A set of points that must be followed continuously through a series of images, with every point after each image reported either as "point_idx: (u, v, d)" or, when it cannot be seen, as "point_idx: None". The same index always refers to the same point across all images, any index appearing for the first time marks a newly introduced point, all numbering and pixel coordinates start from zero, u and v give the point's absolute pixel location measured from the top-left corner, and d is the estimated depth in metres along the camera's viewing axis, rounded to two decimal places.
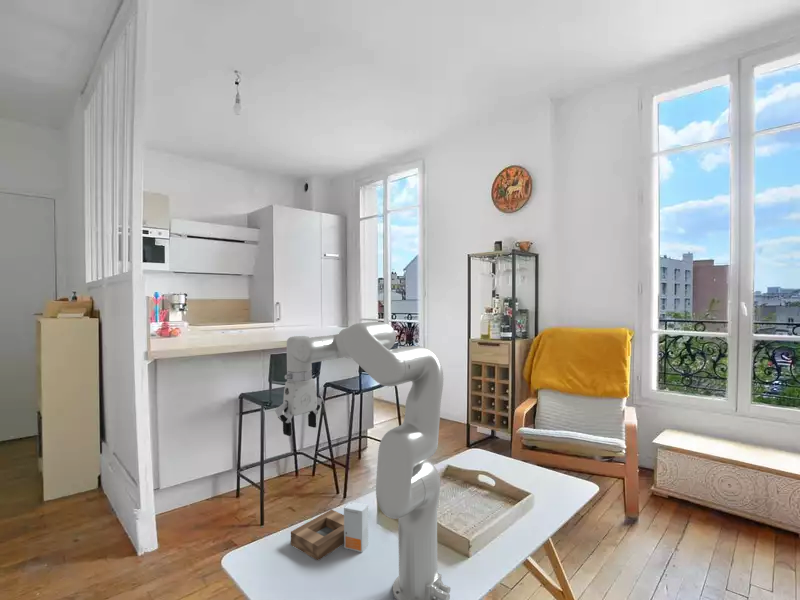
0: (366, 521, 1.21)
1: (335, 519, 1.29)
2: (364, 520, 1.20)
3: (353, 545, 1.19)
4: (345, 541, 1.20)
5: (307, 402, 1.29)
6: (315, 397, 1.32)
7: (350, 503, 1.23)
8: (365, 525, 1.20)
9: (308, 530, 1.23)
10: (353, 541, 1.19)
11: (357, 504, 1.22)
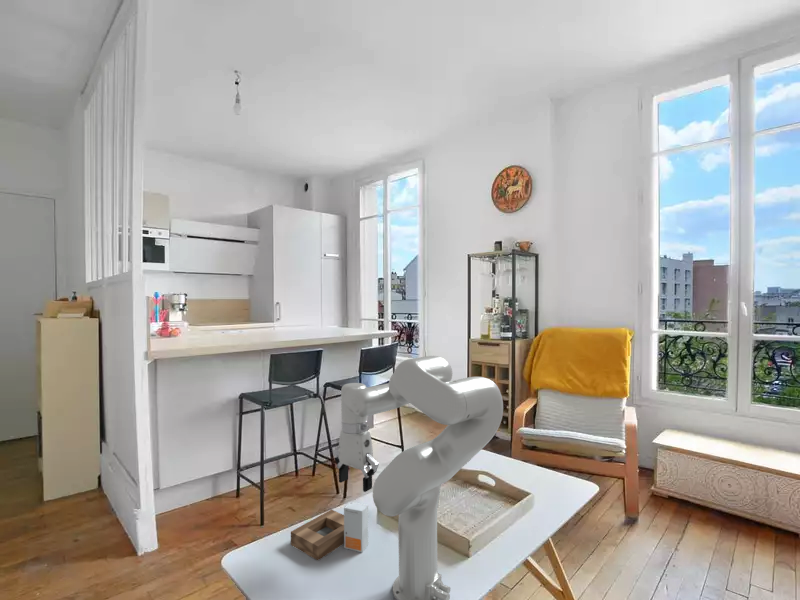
0: (366, 521, 1.21)
1: (335, 519, 1.29)
2: (364, 520, 1.20)
3: (353, 545, 1.19)
4: (345, 541, 1.20)
5: None
6: None
7: (350, 503, 1.23)
8: (365, 525, 1.20)
9: (308, 530, 1.23)
10: (353, 541, 1.19)
11: (357, 504, 1.22)
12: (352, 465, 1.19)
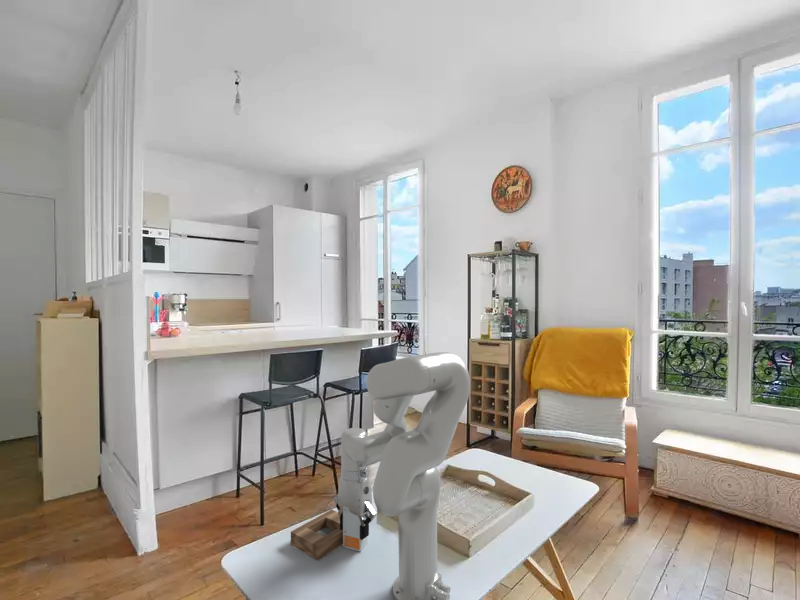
0: None
1: (335, 519, 1.29)
2: None
3: (352, 544, 1.20)
4: (343, 540, 1.21)
5: None
6: None
7: None
8: None
9: (308, 530, 1.23)
10: (352, 540, 1.20)
11: None
12: (351, 511, 1.20)
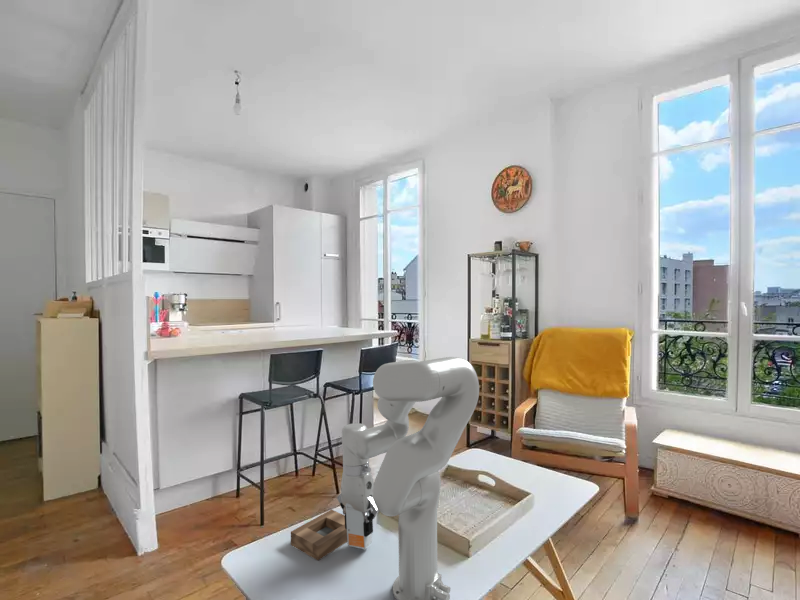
0: None
1: (335, 519, 1.29)
2: None
3: (357, 542, 1.18)
4: (348, 538, 1.19)
5: None
6: None
7: None
8: None
9: (308, 530, 1.23)
10: (356, 538, 1.18)
11: None
12: (355, 508, 1.18)
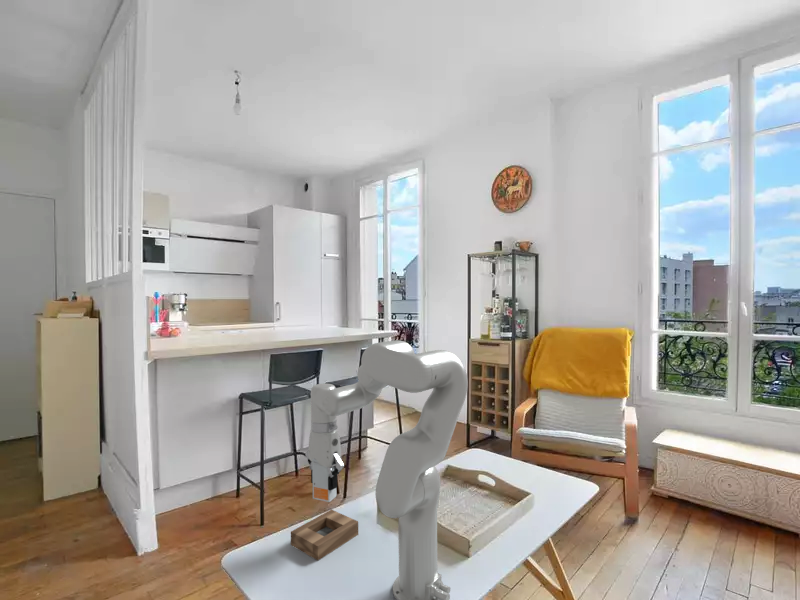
0: None
1: (335, 519, 1.29)
2: None
3: (321, 495, 1.23)
4: (313, 491, 1.24)
5: None
6: None
7: None
8: None
9: (308, 530, 1.23)
10: (321, 491, 1.23)
11: None
12: (321, 463, 1.23)
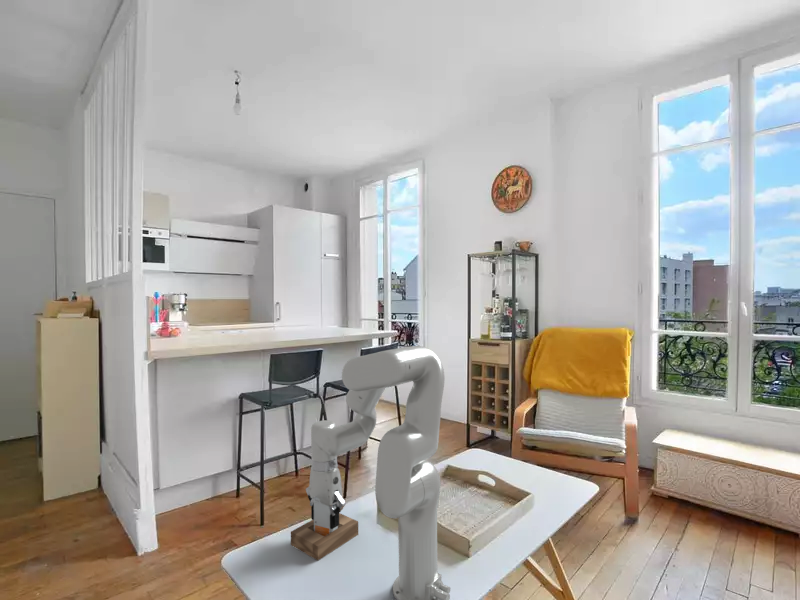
0: None
1: None
2: None
3: (322, 534, 1.23)
4: (314, 530, 1.24)
5: None
6: None
7: None
8: None
9: (308, 530, 1.23)
10: (322, 530, 1.23)
11: None
12: (321, 501, 1.23)
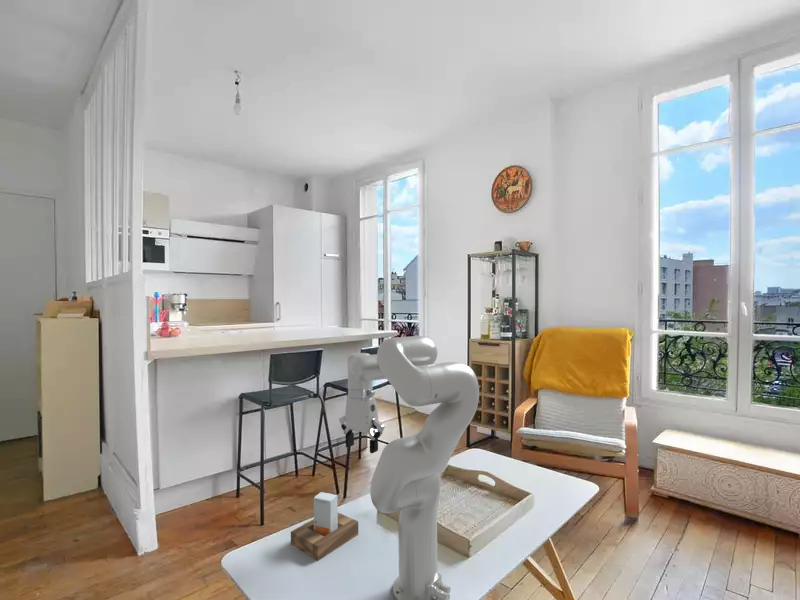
0: (335, 511, 1.25)
1: None
2: (333, 510, 1.24)
3: (322, 534, 1.23)
4: (314, 530, 1.24)
5: None
6: None
7: (320, 493, 1.27)
8: (334, 515, 1.24)
9: (308, 530, 1.23)
10: (322, 530, 1.23)
11: (327, 494, 1.26)
12: (359, 429, 1.27)
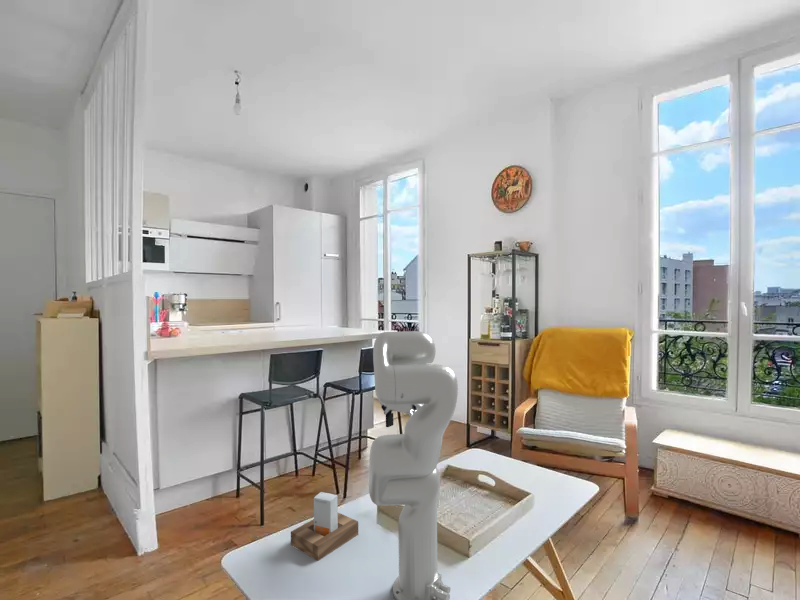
0: (335, 511, 1.25)
1: None
2: (333, 510, 1.24)
3: (322, 534, 1.23)
4: (314, 530, 1.24)
5: None
6: None
7: (320, 493, 1.27)
8: (334, 515, 1.24)
9: (308, 530, 1.23)
10: (322, 530, 1.23)
11: (327, 494, 1.26)
12: (399, 409, 1.31)
